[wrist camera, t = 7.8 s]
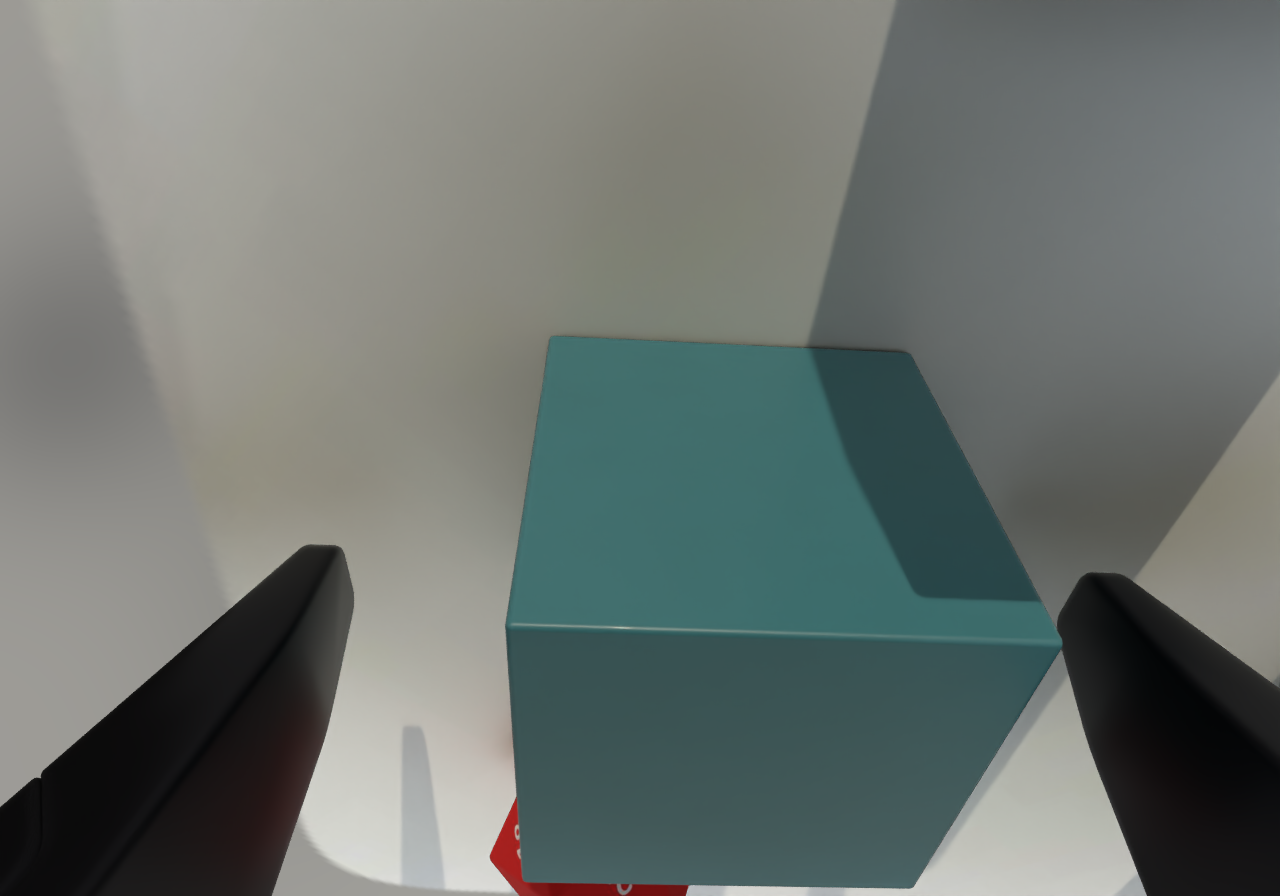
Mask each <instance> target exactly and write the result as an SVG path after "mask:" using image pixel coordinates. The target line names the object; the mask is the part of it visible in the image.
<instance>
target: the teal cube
mask: <svg viewBox="0 0 1280 896" xmlns="http://www.w3.org/2000/svg"><path fill="white" fill-rule="evenodd" d="M505 630H506V645H507V660H508V675H509V690H510V704H511V719H512V734H513V749H514V764H515V779H516V794H517V809H518V824H519V839H520V854H521V869H522V878H523V881H524V882H532V883H594V884H657V885H719V886H782V887H845V888H907V889H910V888H912V887H914V885H915V884H916V882H917V880H918V879H919V877H920V876H921V874H922V872H923V871H924V869H925V868H926V866H927V864H928V863H929V861H930V859H931V858H932V856H933V855H934V853H935V851H936V850H937V848H938V847H939V845H940V843H941V842H942V840H943V839H944V837H945V835H946V834H947V832H948V830H949V829H950V827H951V826H952V824H953V822H954V821H955V819H956V818H957V816H958V814H959V813H960V811H961V809H962V808H963V806H964V805H965V803H966V801H967V800H968V798H969V797H970V795H971V793H972V792H973V790H974V788H975V787H976V785H977V784H978V782H979V780H980V779H981V777H982V776H983V774H984V772H985V771H986V769H987V768H988V766H989V764H990V763H991V761H992V759H993V758H994V756H995V755H996V753H997V751H998V750H999V748H1000V747H1001V745H1002V743H1003V742H1004V740H1005V738H1006V737H1007V735H1008V734H1009V732H1010V730H1011V729H1012V727H1013V726H1014V724H1015V722H1016V721H1017V719H1018V717H1019V716H1020V714H1021V713H1022V711H1023V709H1024V708H1025V706H1026V705H1027V703H1028V701H1029V700H1030V698H1031V697H1032V695H1033V693H1034V692H1035V690H1036V688H1037V687H1038V685H1039V684H1040V682H1041V680H1042V679H1043V677H1044V676H1045V674H1046V672H1047V671H1048V669H1049V667H1050V666H1051V664H1052V663H1053V661H1054V659H1055V658H1056V656H1057V655H1058V653H1059V651H1060V650H1061V648H1062V644H1063V643H1062V638H1061V637H1060V635H1059V633H1058V631H1057V629H1056V627H1055V625H1054V623H1053V622H1052V620H1051V618H1050V616H1049V614H1048V612H1047V610H1046V608H1045V606H1044V605H1043V603H1042V601H1041V599H1040V597H1039V595H1038V593H1037V591H1036V590H1035V588H1034V586H1033V584H1032V582H1031V580H1030V578H1029V576H1028V574H1027V573H1026V571H1025V569H1024V567H1023V565H1022V563H1021V561H1020V559H1019V558H1018V556H1017V554H1016V552H1015V550H1014V548H1013V546H1012V544H1011V542H1010V541H1009V539H1008V537H1007V535H1006V533H1005V531H1004V529H1003V527H1002V526H1001V524H1000V522H999V520H998V518H997V516H996V514H995V512H994V510H993V509H992V507H991V505H990V503H989V501H988V499H987V497H986V495H985V494H984V492H983V490H982V488H981V486H980V484H979V482H978V480H977V478H976V477H975V475H974V473H973V471H972V469H971V467H970V465H969V463H968V462H967V460H966V458H965V456H964V454H963V452H962V450H961V448H960V446H959V445H958V443H957V441H956V439H955V437H954V435H953V433H952V431H951V430H950V428H949V426H948V424H947V422H946V420H945V418H944V416H943V414H942V413H941V411H940V409H939V407H938V405H937V403H936V401H935V399H934V398H933V396H932V394H931V392H930V390H929V388H928V386H927V384H926V382H925V381H924V379H923V377H922V375H921V373H920V371H919V369H918V367H917V366H916V364H915V362H914V360H913V358H912V356H911V355H910V354H908V353H900V352H879V351H858V350H837V349H817V348H796V347H775V346H754V345H733V344H713V343H692V342H671V341H650V340H630V339H609V338H588V337H567V336H552V337H551V338H550V340H549V345H548V352H547V358H546V365H545V371H544V378H543V384H542V391H541V397H540V403H539V410H538V416H537V423H536V429H535V436H534V442H533V449H532V455H531V462H530V468H529V475H528V481H527V488H526V494H525V501H524V507H523V514H522V520H521V527H520V533H519V539H518V546H517V552H516V559H515V565H514V572H513V578H512V585H511V591H510V598H509V604H508V611H507V617H506V624H505Z"/></svg>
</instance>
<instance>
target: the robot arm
mask: <svg viewBox="0 0 1280 896" xmlns="http://www.w3.org/2000/svg"><path fill="white" fill-rule="evenodd" d="M353 609H354V591H353V587H352V583H351V578H350V574H349V570H348V566H347V562H346V558H345V554H344V552H343V550H342V548H341V547H339V546H336V545H313V544H310V545H306V546H304V547H302V548H300V549H299V550H298V551H297V552H295V553H294V554H293V555H292V556H291V557H290V558H288V559H287V560H286V561H285V562H284V563H283V564H281V565H280V566H279V567H278V568H277V569H276V570H275V571H273V572H272V573H271V574H270V575H269V576H268V577H266V578H265V579H264V580H263V581H262V582H261V583H260V584H258V585H257V586H256V587H255V588H254V589H253V590H251V591H250V592H249V593H248V594H247V595H246V596H244V597H243V598H242V599H241V600H240V601H239V602H238V603H236V604H235V605H234V606H233V607H232V608H231V609H229V610H228V611H227V612H226V613H225V614H224V615H222V616H221V617H220V618H219V619H218V620H217V621H216V622H214V623H213V624H212V625H211V626H210V627H209V628H207V629H206V630H205V631H204V632H203V633H202V634H200V635H199V636H198V637H197V638H196V639H195V640H194V641H192V642H191V643H190V644H189V645H188V646H187V647H185V649H183V650H182V651H181V652H180V653H179V654H177V655H176V656H175V657H174V658H173V659H172V660H170V661H169V662H168V663H167V664H166V665H165V666H163V667H162V668H161V669H160V670H159V671H158V672H157V673H156V674H154V675H153V676H152V677H151V678H150V679H148V680H147V681H146V682H145V683H144V684H143V685H141V687H139V688H138V689H137V690H136V691H135V692H133V693H132V694H131V695H130V696H129V697H128V698H126V699H125V700H124V701H123V702H122V703H121V704H119V705H118V706H117V707H116V708H115V709H114V710H113V711H112V712H110V713H109V714H108V715H107V716H106V717H104V718H103V719H102V720H101V721H100V722H99V723H98V724H96V725H95V726H94V727H93V728H92V729H91V730H89V731H88V732H87V733H86V734H85V735H84V736H82V737H81V738H80V739H79V740H78V741H77V742H76V743H75V744H73V745H72V746H71V747H70V748H69V749H67V750H66V751H65V752H64V753H63V754H62V755H61V756H59V757H58V758H57V759H56V760H55V761H54V762H52V763H51V764H50V765H49V766H48V767H47V768H45V769H44V770H43V772H42V774H41V778H34V779H33V780H31V781H30V782H29V783H28V784H26V786H24V787H23V788H22V789H21V790H20V791H18V792H17V793H16V794H15V795H14V796H13V797H11V798H10V799H9V800H8V801H7V802H6V803H4V804H3V805H2V806H1V807H0V896H272V893H273V890H274V887H275V884H276V881H277V878H278V875H279V872H280V870H281V866H282V863H283V861H284V858H285V855H286V852H287V849H288V846H289V843H290V840H291V837H292V834H293V831H294V828H295V825H296V822H297V819H298V816H299V814H300V811H301V808H302V805H303V802H304V799H305V796H306V793H307V790H308V787H309V784H310V781H311V778H312V775H313V772H314V769H315V766H316V763H317V760H318V758H319V755H320V752H321V749H322V745H323V742H324V739H325V736H326V732H327V729H328V725H329V721H330V717H331V712H332V708H333V703H334V699H335V694H336V689H337V684H338V680H339V675H340V670H341V666H342V661H343V656H344V652H345V647H346V642H347V638H348V633H349V628H350V624H351V619H352V614H353ZM1057 631H1058V633H1059V635H1060V637H1061V638H1062V643H1063V644H1062V652H1063V655H1064V659H1065V663H1066V666H1067V670H1068V674H1069V677H1070V681H1071V684H1072V688H1073V692H1074V695H1075V699H1076V703H1077V706H1078V710H1079V714H1080V717H1081V721H1082V725H1083V728H1084V732H1085V735H1086V738H1087V741H1088V744H1089V748H1090V750H1091V753H1092V756H1093V759H1094V761H1095V764H1096V767H1097V770H1098V772H1099V775H1100V777H1101V780H1102V782H1103V785H1104V787H1105V790H1106V792H1107V795H1108V798H1109V800H1110V803H1111V805H1112V808H1113V810H1114V813H1115V815H1116V818H1117V820H1118V823H1119V826H1120V828H1121V831H1122V833H1123V836H1124V838H1125V841H1126V843H1127V846H1128V849H1129V851H1130V854H1131V856H1132V859H1133V861H1134V864H1135V866H1136V869H1137V871H1138V874H1139V877H1140V879H1141V882H1142V884H1143V887H1144V889H1145V892H1146V894H1147V896H1280V689H1279V688H1278V687H1277V686H1275V685H1274V684H1272V683H1271V682H1270V681H1268V680H1267V679H1266V678H1264V677H1263V676H1262V675H1260V674H1259V673H1257V672H1256V671H1255V670H1253V669H1252V668H1251V667H1249V666H1248V665H1246V664H1245V663H1244V662H1242V661H1241V660H1240V659H1238V658H1237V657H1236V656H1234V655H1233V654H1231V653H1230V652H1229V651H1227V650H1226V649H1225V648H1223V647H1222V646H1220V645H1219V644H1218V643H1216V642H1215V641H1214V640H1212V639H1211V638H1209V637H1208V636H1207V635H1205V634H1204V633H1203V632H1201V631H1200V630H1199V629H1197V628H1196V627H1194V626H1193V625H1192V624H1190V623H1189V622H1188V621H1186V620H1185V619H1183V618H1182V617H1181V616H1179V615H1178V614H1177V613H1175V612H1174V611H1172V610H1171V609H1170V608H1168V607H1167V606H1166V605H1164V604H1163V603H1162V602H1160V601H1159V600H1157V599H1156V598H1155V597H1153V596H1152V595H1151V594H1149V593H1148V592H1146V591H1145V590H1144V589H1142V588H1141V587H1140V586H1138V585H1137V584H1135V583H1134V582H1133V581H1131V580H1130V579H1129V578H1127V577H1125V576H1124V575H1121V574H1117V573H1097V572H1090V573H1087V574H1085V575H1084V576H1082V577H1081V578H1080V580H1079V581H1078V583H1077V584H1076V586H1075V588H1074V590H1073V591H1072V593H1071V595H1070V596H1069V598H1068V600H1067V601H1066V603H1065V605H1064V606H1063V608H1062V610H1061V612H1060V614H1059V616H1058V620H1057Z"/></svg>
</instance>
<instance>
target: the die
mask: <svg viewBox="0 0 1280 896" xmlns="http://www.w3.org/2000/svg"><path fill="white" fill-rule="evenodd" d="M490 860H491V862H492V863H493V864H494V865H495V867H496V868H497V869H498V870H499V871H500V873H501V874H502V875H503V876H504V877H505V879H506V880H507V881H508V882H509V884H510V885H511V886H512V887H513V888H514V890H515V891H516V892H517V893H518V894H519V896H686V893H687V889H688V886H689V885H657V884H594V883H532V882H524V881H523V878H522V869H521V854H520V839H519V824H518V809H517V797H516V799H515V801H514V803H513V805H512V808H511V810H510V812H509V814H508V816H507V819H506V821H505V823H504V825H503V827H502V830H501V832H500V834H499V836H498V838H497V841H496V843H495V845H494V847H493V849H492V852H491V854H490Z"/></svg>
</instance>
